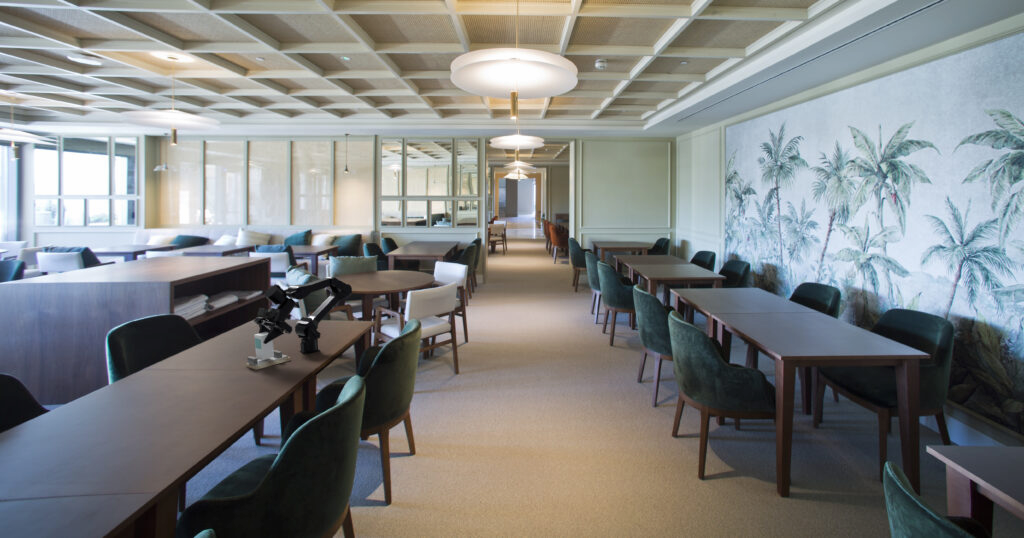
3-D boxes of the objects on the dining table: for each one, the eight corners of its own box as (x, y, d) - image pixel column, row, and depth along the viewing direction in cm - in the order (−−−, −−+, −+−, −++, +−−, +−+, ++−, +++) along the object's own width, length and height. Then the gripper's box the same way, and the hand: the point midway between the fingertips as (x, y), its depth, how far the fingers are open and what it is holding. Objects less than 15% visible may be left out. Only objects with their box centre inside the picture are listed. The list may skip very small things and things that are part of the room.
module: (267, 355, 215) (265, 331, 213) (274, 356, 212) (272, 333, 211) (255, 358, 210) (253, 334, 209) (262, 360, 208) (260, 336, 207)
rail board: (280, 357, 221) (280, 347, 221) (290, 360, 217) (289, 350, 217) (245, 366, 209) (245, 356, 209) (255, 369, 205) (254, 359, 204)
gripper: (256, 298, 217) (232, 329, 209) (283, 302, 207) (260, 335, 199) (274, 312, 224) (252, 343, 216) (302, 317, 215) (280, 349, 207)
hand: (260, 342), depth 209 cm, fingers closed on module, 4 cm apart
